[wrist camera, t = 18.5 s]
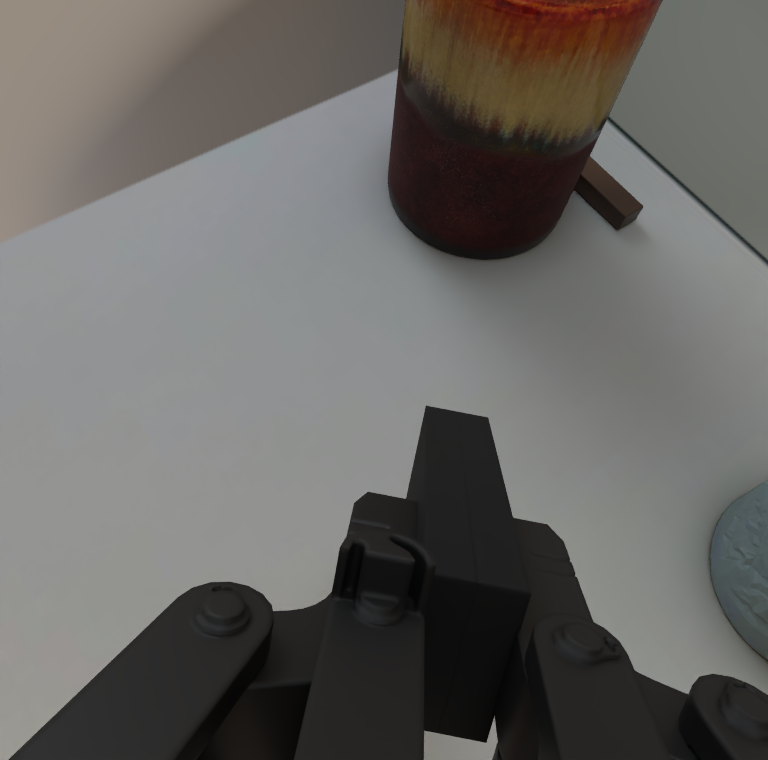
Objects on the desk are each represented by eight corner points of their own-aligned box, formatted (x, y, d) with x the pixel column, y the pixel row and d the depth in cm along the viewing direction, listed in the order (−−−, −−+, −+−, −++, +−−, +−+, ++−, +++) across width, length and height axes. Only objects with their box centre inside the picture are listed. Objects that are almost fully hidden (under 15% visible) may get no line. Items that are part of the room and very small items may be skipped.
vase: (467, 102, 41) (569, -360, 23) (596, 194, 38) (831, -251, 20) (350, 183, 37) (362, -295, 19) (484, 293, 34) (649, -148, 16)
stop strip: (635, 219, 38) (644, 206, 37) (617, 230, 37) (625, 217, 36) (491, 83, 42) (495, 67, 41) (473, 91, 42) (477, 75, 41)
